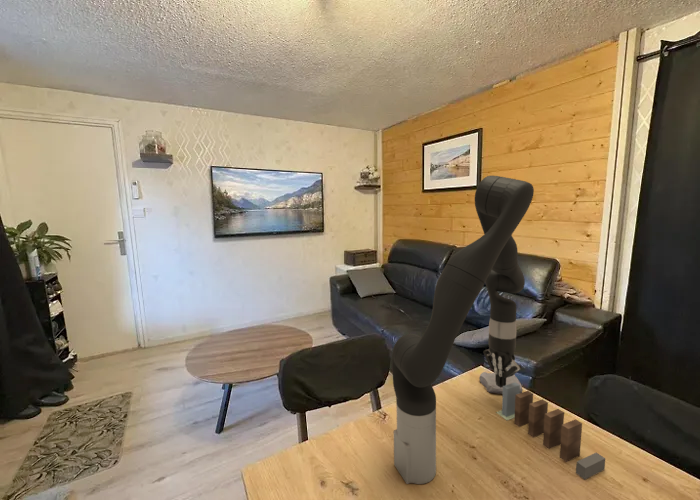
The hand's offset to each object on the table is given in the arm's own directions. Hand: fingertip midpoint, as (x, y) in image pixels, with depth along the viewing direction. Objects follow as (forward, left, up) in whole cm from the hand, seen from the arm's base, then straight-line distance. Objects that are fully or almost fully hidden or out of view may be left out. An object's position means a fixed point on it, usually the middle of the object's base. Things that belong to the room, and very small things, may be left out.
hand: (500, 385), depth 98 cm
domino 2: (0, -8, -7) cm, 11 cm away
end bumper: (0, -27, -7) cm, 27 cm away
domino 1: (0, -4, -7) cm, 8 cm away
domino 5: (0, -22, -7) cm, 23 cm away
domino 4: (0, -17, -7) cm, 19 cm away
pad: (0, -4, -7) cm, 8 cm away
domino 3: (0, -13, -7) cm, 15 cm away
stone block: (+8, +7, -7) cm, 13 cm away
